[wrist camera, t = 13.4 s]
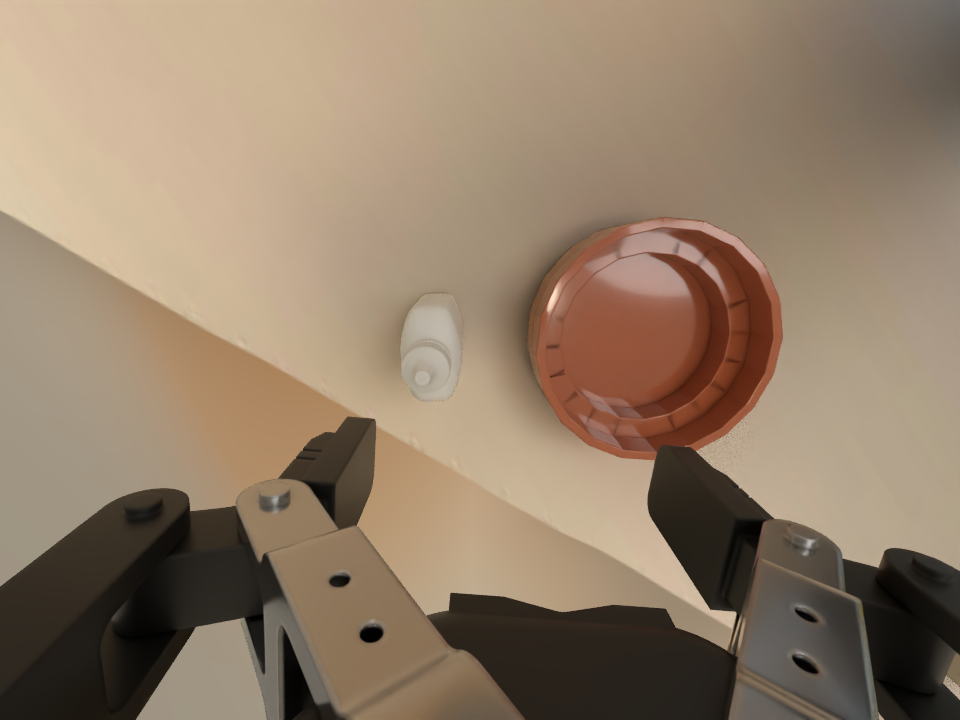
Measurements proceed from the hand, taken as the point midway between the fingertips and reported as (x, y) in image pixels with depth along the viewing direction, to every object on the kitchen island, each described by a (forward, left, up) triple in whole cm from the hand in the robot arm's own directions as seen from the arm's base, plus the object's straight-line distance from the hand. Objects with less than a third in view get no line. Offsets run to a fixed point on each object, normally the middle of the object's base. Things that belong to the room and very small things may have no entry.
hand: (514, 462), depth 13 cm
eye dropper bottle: (0, -3, -20) cm, 21 cm away
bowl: (-1, +10, -20) cm, 23 cm away
